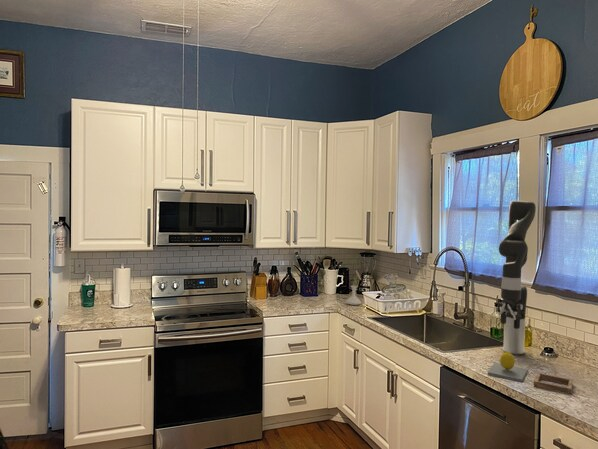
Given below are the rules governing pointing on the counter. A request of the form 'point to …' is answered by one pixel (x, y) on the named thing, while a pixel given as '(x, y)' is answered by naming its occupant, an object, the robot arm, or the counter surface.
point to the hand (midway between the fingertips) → (509, 325)
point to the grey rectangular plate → (508, 372)
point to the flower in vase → (353, 299)
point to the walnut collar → (552, 386)
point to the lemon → (507, 360)
